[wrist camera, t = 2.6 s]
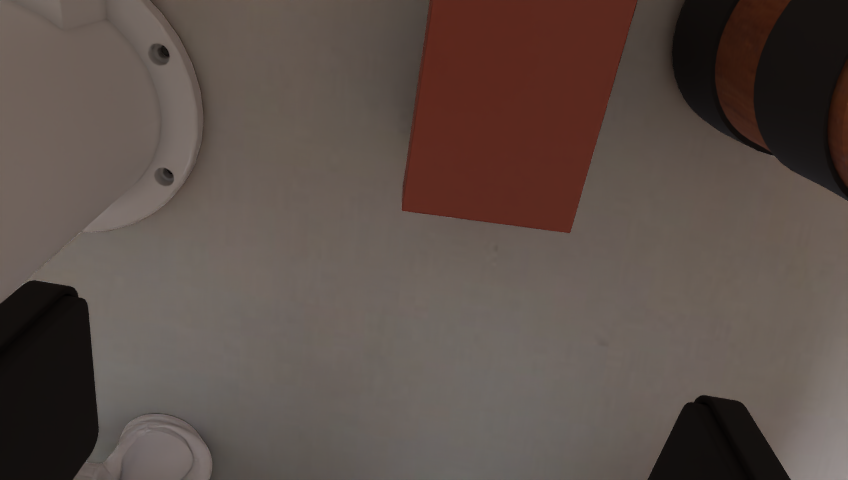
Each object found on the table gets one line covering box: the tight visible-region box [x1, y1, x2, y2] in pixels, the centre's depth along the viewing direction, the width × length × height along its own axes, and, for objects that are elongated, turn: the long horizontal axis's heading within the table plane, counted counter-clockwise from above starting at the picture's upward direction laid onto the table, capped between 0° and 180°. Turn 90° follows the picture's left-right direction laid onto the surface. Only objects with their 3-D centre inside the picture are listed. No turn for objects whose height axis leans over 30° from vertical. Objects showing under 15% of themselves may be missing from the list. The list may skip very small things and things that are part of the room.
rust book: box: [402, 0, 637, 233], centre depth 22 cm, size 10×6×2 cm
